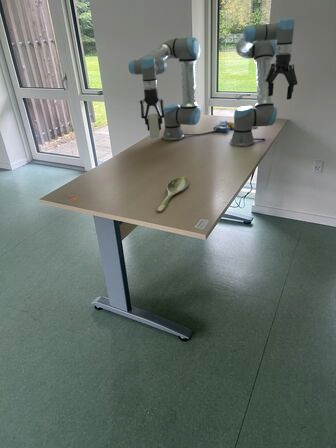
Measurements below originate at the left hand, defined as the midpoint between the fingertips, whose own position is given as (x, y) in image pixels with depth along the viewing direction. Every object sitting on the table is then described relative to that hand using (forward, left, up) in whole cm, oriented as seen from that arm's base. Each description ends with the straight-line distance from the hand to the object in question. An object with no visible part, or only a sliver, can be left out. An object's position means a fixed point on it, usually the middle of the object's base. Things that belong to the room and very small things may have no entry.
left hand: (154, 129), depth 198 cm
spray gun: (-73, -28, -20) cm, 81 cm away
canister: (0, 0, -4) cm, 4 cm away
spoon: (+16, +46, -20) cm, 53 cm away
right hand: (-57, +41, +14) cm, 72 cm away
